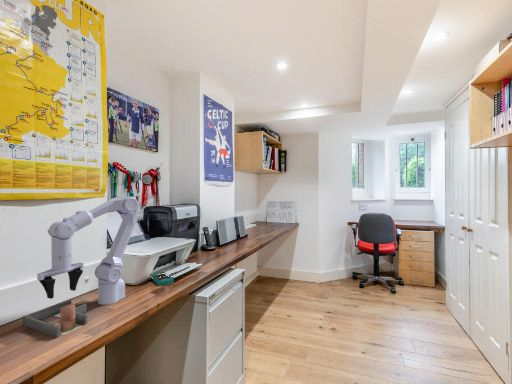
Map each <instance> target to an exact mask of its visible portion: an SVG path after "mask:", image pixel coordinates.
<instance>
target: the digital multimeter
mask: <svg viewBox="0 0 512 384" xmlns="http://www.w3.org/2000/svg"><path fill="white" fill-rule="evenodd" d="M158 273H165V274H167V273H166V272H165V271H158V272H153V274H154V275H152V277H153V280H152V281H153V282H155V284H156V285H157V286H158V287H159V286H166V285H170V284H171V285H172V284H174V278H173V277H171V276H170V275H169V274H167V275H168V276H169V277H168V276H166V275H165V274H160V275H156V274H158ZM160 276H161V278H159V277H160ZM163 276H165V277H163Z"/></svg>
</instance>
